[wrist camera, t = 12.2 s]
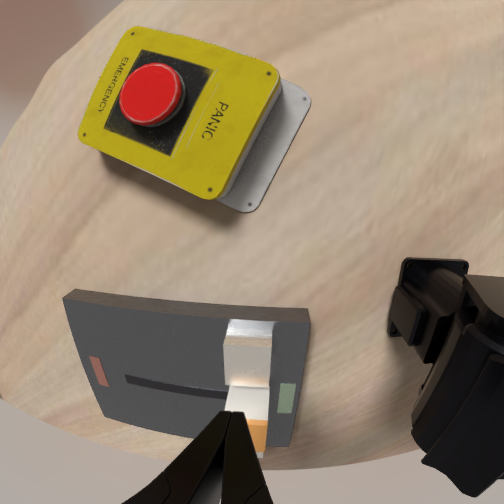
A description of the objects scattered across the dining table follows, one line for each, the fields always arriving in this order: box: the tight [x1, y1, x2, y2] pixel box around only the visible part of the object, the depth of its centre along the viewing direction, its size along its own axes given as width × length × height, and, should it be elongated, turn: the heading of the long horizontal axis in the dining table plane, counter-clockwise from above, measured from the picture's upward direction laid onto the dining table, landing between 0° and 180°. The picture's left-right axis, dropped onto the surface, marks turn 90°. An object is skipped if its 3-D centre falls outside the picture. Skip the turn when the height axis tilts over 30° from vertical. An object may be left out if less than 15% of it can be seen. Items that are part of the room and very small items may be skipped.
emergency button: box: [78, 26, 311, 212], centre depth 15 cm, size 9×4×15 cm
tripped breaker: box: [225, 385, 270, 452], centre depth 18 cm, size 3×4×4 cm
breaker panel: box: [62, 289, 310, 458], centre depth 21 cm, size 20×15×4 cm
